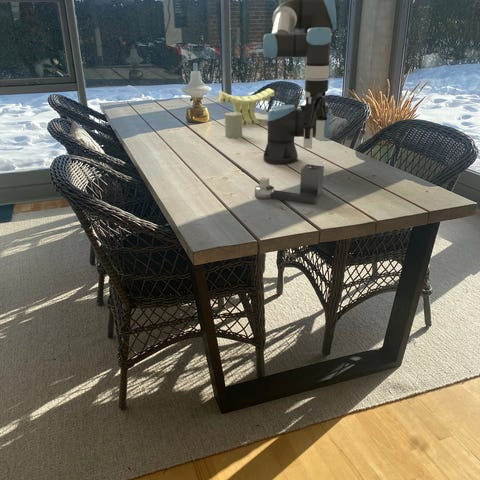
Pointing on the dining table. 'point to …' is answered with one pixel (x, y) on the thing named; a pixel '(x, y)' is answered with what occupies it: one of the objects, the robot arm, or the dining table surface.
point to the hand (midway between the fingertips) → (313, 143)
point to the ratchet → (281, 193)
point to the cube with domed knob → (312, 180)
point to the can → (233, 124)
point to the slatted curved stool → (246, 104)
